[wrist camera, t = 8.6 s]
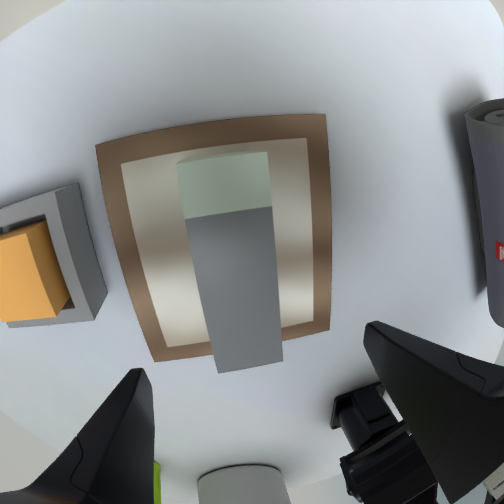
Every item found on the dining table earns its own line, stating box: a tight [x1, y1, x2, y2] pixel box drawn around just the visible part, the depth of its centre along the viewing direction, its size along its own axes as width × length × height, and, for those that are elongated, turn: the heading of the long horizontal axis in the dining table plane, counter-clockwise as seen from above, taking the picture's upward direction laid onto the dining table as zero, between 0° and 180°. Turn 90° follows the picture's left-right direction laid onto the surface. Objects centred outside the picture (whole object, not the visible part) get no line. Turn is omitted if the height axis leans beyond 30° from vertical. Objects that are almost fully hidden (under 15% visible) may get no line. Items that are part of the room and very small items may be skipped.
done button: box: [0, 220, 71, 322], centre depth 13 cm, size 5×5×3 cm
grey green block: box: [176, 150, 283, 373], centre depth 16 cm, size 12×4×4 cm, turn 6°
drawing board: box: [95, 114, 332, 362], centre depth 18 cm, size 16×14×1 cm
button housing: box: [0, 183, 108, 328], centre depth 15 cm, size 8×8×4 cm
